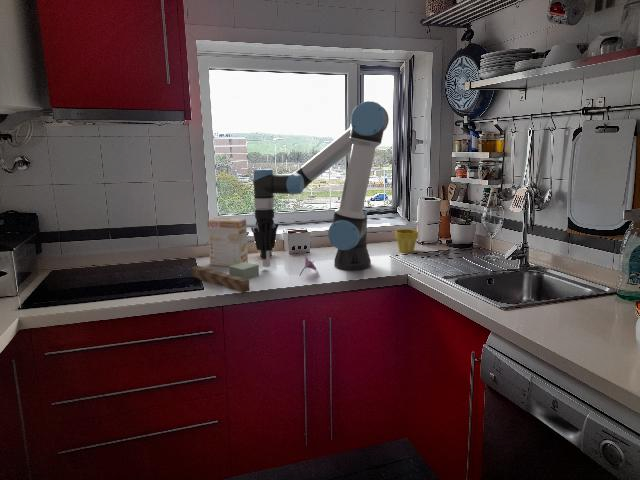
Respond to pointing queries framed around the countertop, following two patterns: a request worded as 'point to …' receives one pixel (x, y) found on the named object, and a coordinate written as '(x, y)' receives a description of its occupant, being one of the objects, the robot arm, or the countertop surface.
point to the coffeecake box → (227, 241)
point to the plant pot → (406, 239)
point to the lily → (309, 265)
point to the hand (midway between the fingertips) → (266, 266)
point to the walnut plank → (221, 278)
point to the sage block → (244, 270)
